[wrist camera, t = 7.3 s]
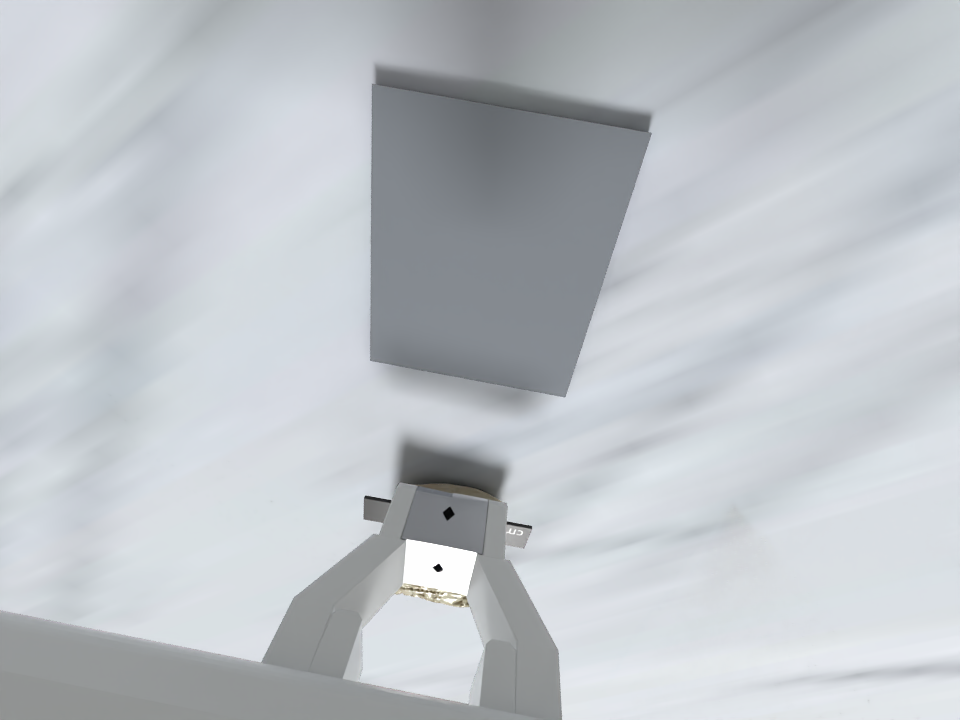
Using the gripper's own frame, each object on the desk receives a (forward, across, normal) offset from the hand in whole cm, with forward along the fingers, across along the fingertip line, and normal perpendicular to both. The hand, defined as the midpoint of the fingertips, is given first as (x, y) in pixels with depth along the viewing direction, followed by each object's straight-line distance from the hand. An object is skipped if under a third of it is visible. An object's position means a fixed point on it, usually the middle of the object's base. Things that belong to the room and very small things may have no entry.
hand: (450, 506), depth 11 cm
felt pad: (+8, 0, -4) cm, 9 cm away
